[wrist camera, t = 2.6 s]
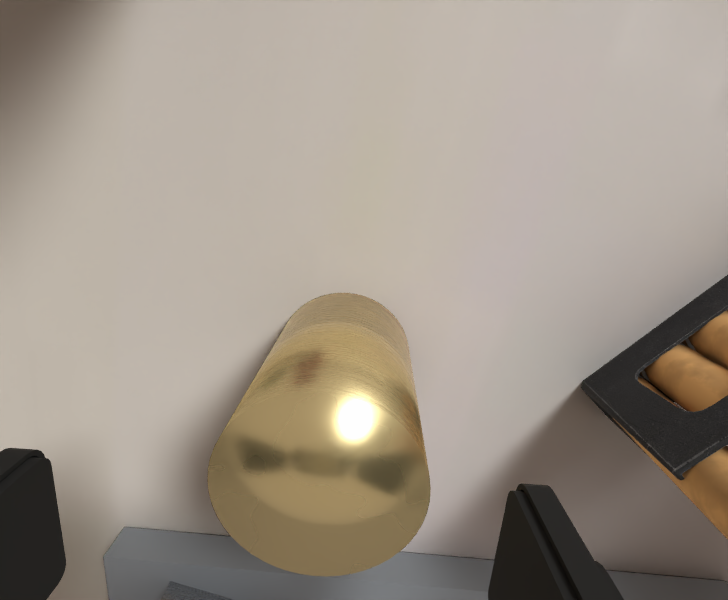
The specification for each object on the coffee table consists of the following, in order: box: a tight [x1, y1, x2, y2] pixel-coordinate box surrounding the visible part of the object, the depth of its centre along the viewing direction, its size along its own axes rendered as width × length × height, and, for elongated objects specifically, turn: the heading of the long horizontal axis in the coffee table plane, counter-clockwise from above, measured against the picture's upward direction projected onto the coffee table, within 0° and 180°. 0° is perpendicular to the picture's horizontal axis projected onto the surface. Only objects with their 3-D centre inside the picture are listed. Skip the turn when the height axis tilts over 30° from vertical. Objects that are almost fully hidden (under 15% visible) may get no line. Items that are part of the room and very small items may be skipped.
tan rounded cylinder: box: [207, 293, 430, 576], centre depth 13 cm, size 5×5×7 cm
